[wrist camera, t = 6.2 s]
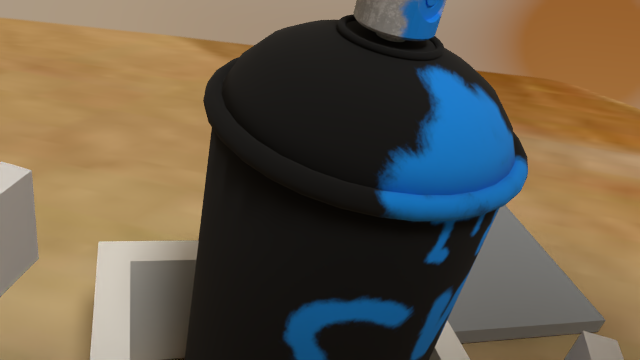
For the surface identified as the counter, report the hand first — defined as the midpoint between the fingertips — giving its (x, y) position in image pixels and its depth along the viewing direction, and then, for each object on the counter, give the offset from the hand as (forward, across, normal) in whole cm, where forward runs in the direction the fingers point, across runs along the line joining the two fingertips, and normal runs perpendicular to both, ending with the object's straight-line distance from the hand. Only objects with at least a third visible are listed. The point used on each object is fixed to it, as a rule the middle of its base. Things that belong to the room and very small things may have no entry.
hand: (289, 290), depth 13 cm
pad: (+20, +9, -12) cm, 25 cm away
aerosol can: (+3, +1, -12) cm, 13 cm away
